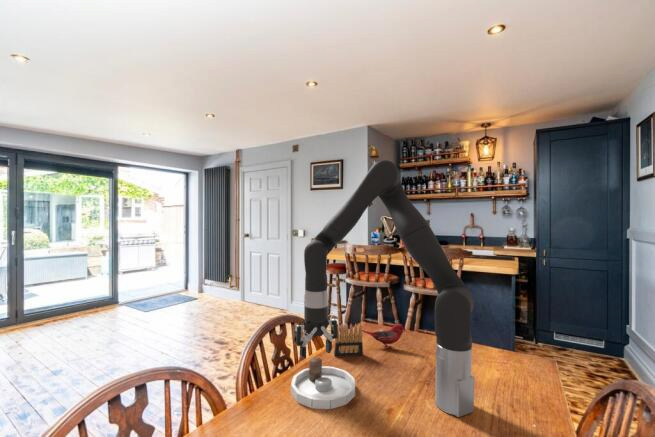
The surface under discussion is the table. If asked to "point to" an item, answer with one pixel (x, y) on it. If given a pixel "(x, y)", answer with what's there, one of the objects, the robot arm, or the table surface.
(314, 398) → the ring tray
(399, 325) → the decorative bird figurine
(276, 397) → the table surface
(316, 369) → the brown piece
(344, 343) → the ammunition clip
